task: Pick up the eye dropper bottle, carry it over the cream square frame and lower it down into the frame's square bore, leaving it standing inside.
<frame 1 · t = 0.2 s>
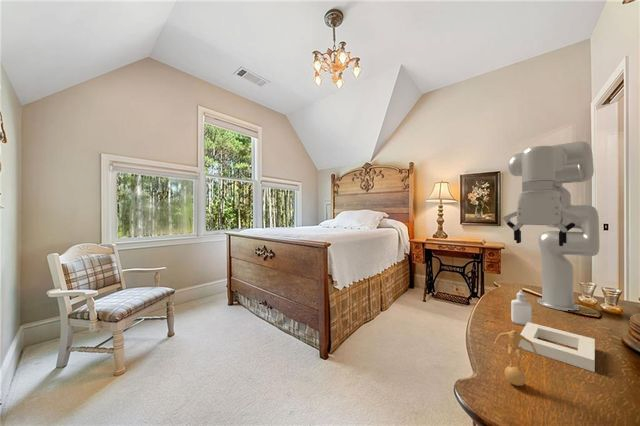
hand: (539, 244, 73), 30 cm above the table, tool pointing down, fingers open, 9 cm apart
eye dropper bottle: (521, 323, 87), on the table
figurine: (515, 382, 58), on the table
cream square frame: (556, 348, 71), on the table
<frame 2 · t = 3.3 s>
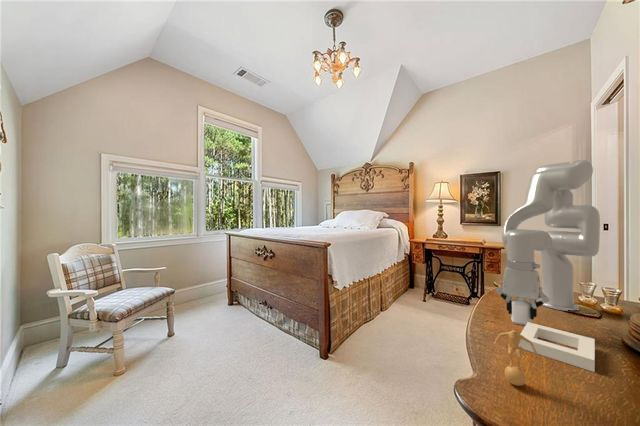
hand: (521, 315, 87), 3 cm above the table, tool pointing down, fingers closed on eye dropper bottle, 5 cm apart
eye dropper bottle: (521, 323, 87), on the table, touching gripper
everything else where it was.
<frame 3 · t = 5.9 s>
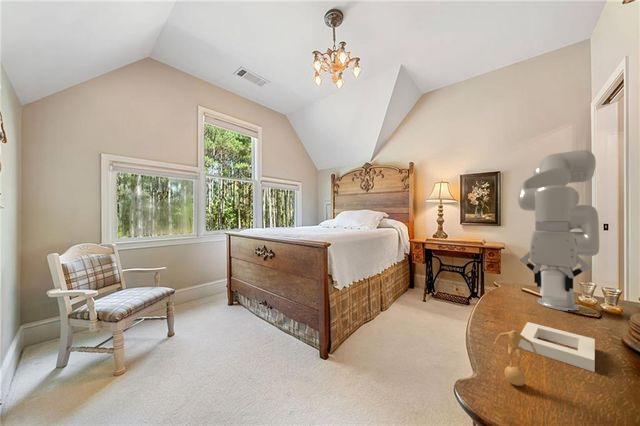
hand: (553, 287, 72), 18 cm above the table, tool pointing down, fingers closed on eye dropper bottle, 5 cm apart
eye dropper bottle: (553, 298, 72), point 15 cm above the table, touching gripper
everything else where it was.
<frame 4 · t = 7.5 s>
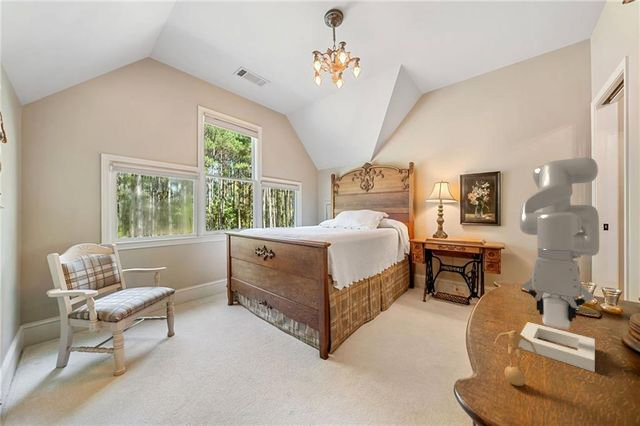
hand: (555, 315, 71), 10 cm above the table, tool pointing down, fingers closed on eye dropper bottle, 5 cm apart
eye dropper bottle: (555, 326, 71), point 7 cm above the table, touching gripper
everything else where it was.
when the fingers open (4 cm above the table, at t = 8.9 s): eye dropper bottle drops 1 cm, resting in cream square frame.
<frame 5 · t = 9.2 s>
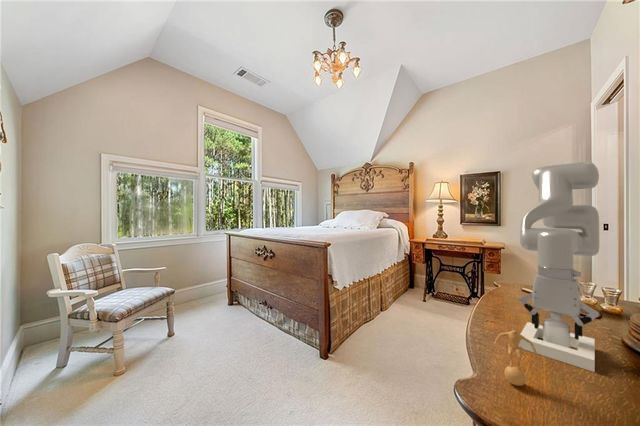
hand: (555, 331, 71), 5 cm above the table, tool pointing down, fingers open, 8 cm apart
eye dropper bottle: (556, 349, 71), resting in cream square frame
everything else where it was.
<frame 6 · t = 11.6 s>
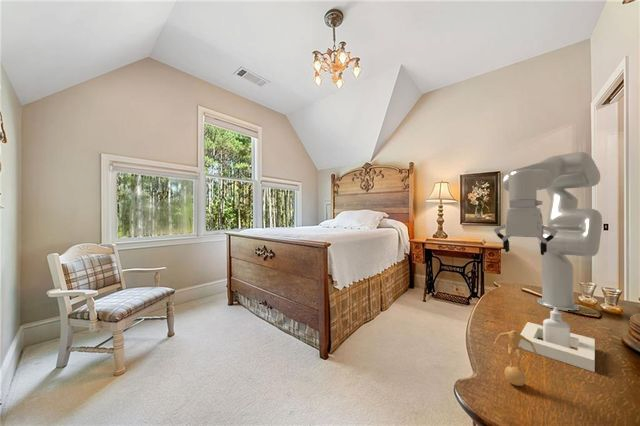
hand: (524, 252, 86), 26 cm above the table, tool pointing down, fingers open, 9 cm apart
nothing on the table moved.
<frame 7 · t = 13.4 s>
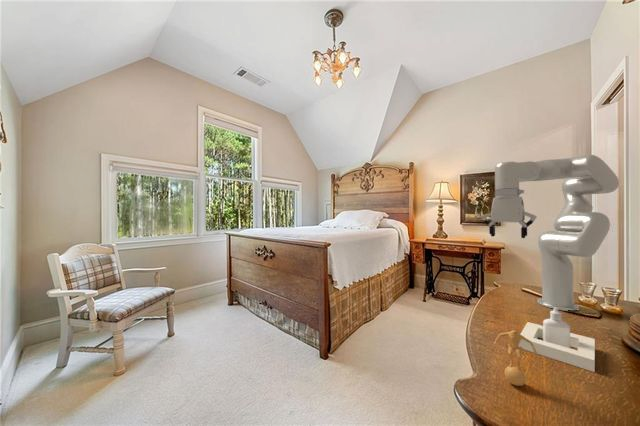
hand: (507, 237, 96), 30 cm above the table, tool pointing down, fingers open, 9 cm apart
nothing on the table moved.
at the end: eye dropper bottle 0.2 cm off-centre on the cream square frame, point 0.0 cm above the cream square frame's base; eye dropper bottle tilted 0°; the gripper is holding nothing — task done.
